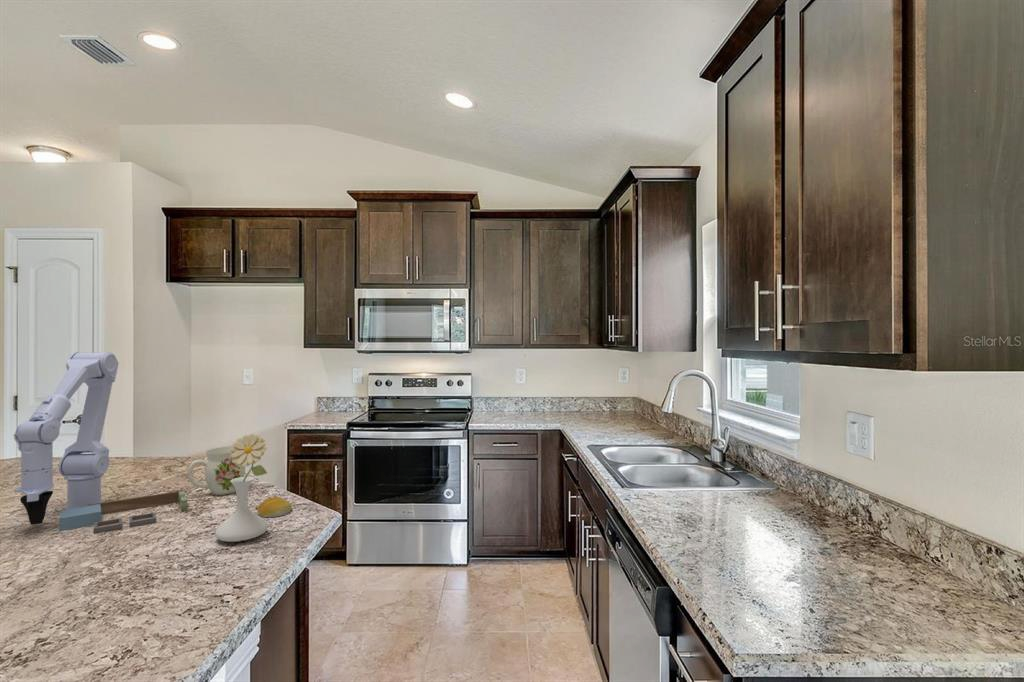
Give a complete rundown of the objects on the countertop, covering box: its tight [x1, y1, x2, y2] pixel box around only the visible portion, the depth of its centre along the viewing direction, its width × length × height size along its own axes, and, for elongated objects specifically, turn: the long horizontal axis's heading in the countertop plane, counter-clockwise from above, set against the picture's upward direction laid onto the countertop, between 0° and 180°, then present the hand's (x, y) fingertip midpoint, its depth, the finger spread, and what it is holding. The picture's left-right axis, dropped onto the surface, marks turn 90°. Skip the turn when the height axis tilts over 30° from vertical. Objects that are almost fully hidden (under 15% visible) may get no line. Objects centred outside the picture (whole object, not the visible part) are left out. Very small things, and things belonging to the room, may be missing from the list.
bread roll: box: [257, 496, 293, 518], centre depth 139 cm, size 8×9×4 cm
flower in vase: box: [214, 433, 270, 543], centre depth 122 cm, size 13×11×25 cm
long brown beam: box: [87, 490, 188, 516], centre depth 139 cm, size 12×22×3 cm, turn 127°
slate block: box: [59, 504, 102, 532], centre depth 131 cm, size 8×8×4 cm
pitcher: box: [187, 445, 246, 496], centre depth 158 cm, size 11×18×14 cm, turn 131°
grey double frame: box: [93, 512, 157, 535], centre depth 130 cm, size 6×12×1 cm, turn 127°
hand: (37, 523), depth 126 cm, fingers closed
